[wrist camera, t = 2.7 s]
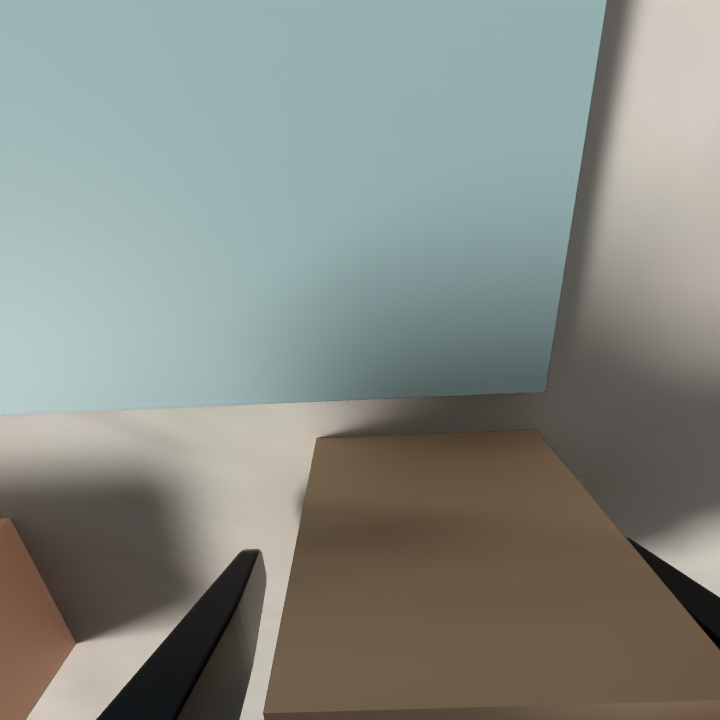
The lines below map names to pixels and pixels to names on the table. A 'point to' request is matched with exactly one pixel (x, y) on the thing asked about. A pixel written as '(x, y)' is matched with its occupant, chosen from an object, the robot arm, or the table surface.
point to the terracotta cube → (26, 629)
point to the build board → (285, 198)
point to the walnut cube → (475, 593)
